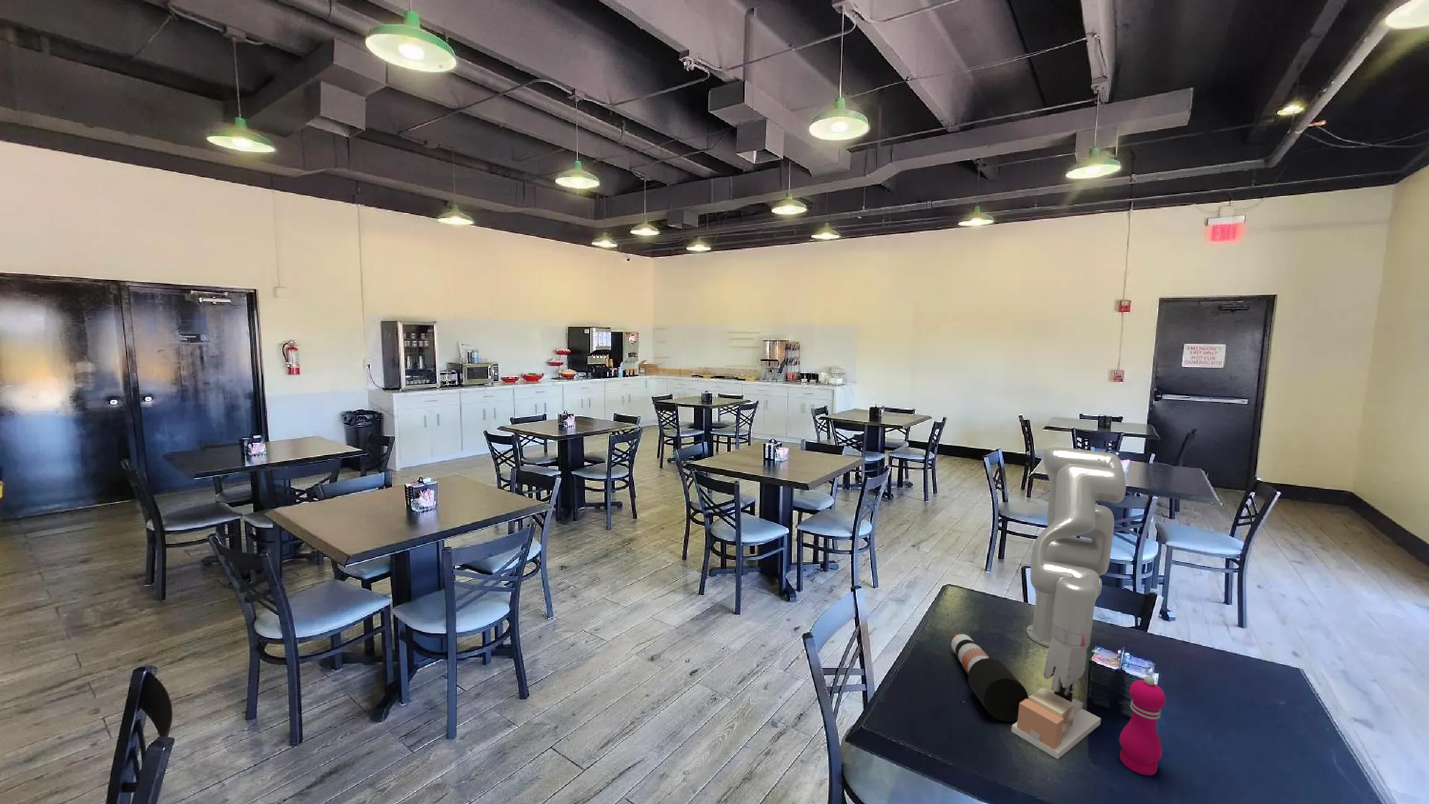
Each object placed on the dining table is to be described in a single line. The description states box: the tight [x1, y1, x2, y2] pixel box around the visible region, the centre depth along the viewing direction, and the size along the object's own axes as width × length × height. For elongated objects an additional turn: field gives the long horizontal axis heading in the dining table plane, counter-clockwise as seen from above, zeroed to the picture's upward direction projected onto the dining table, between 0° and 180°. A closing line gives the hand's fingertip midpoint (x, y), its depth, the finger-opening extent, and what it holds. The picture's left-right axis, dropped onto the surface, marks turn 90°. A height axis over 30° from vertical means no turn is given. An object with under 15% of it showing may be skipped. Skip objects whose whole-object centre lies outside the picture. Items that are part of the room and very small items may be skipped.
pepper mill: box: [1118, 675, 1167, 776], centre depth 120 cm, size 7×7×20 cm
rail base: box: [1011, 698, 1102, 760], centre depth 131 cm, size 20×10×8 cm, turn 124°
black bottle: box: [950, 632, 1029, 722], centre depth 149 cm, size 10×34×10 cm, turn 174°
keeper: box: [1028, 687, 1075, 733], centre depth 129 cm, size 6×7×5 cm
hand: (1061, 706), depth 132 cm, fingers closed
